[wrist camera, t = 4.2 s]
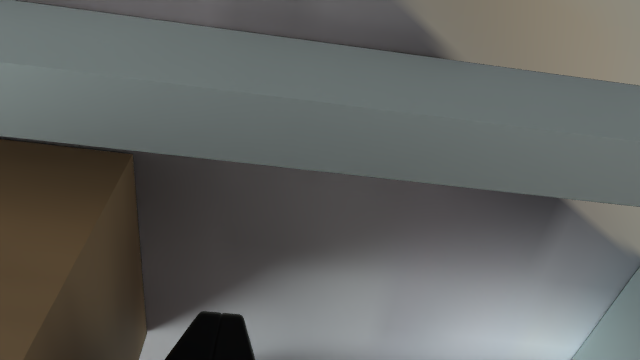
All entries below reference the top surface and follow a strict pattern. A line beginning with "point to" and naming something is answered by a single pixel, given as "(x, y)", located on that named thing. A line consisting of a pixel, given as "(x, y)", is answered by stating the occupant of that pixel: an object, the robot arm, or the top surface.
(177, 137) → the trap box
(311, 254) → the top surface
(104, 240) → the block
